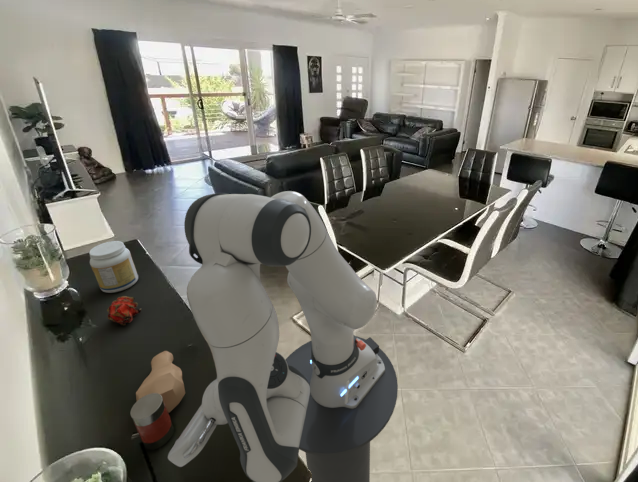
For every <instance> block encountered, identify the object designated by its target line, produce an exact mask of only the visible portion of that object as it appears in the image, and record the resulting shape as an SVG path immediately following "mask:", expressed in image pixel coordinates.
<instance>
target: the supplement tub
mask: <svg viewBox="0 0 638 482" xmlns="http://www.w3.org/2000/svg"><path fill="white" fill-rule="evenodd" d="M89 265H90V268H91V270H92V272H93V275H94V277H95V279H96V281H97V282H96V283H97V284H98V287H99V289H100V290H101V291H102V292H103V293H107V294H113V293H114V294H115V293H119V292H122V291H125V290H128V289H130V288H131V287H133V286H134V285H135V284H136V283H137V282H138V280H139V274H138V271H137V269H136V265H135V262H134V260H133V257H132V254H131V251H130V250H129V248H127V247H126V245H125V244H124V242H123V241H120V240H111V241H106V242H103V243H99V244H98V245H95V246H94V247H92V248H91V249H90V250H89Z"/></svg>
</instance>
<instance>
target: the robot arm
mask: <svg viewBox="0 0 638 482" xmlns="http://www.w3.org/2000/svg"><path fill="white" fill-rule="evenodd" d="M183 224H184V225H183V226H184V227H183V228H184V234H185V238H186V241H187V243H188V254H189V257H190V258H191V259H192V260H194V262H196V263H198V264H200V265H201V266H200V267H199V268H198V269H197V270H196V271H195V272H193V275H192V276H191V277H190V279H189V281H188V284H187V287H186V298H187V302H188V306H189V308H190V311H191V314H192V316H193V319H194V321H195V323H196V326H197V328H198V329H199V331H200V333H201V335H202V337H203V338H204V340H205V341H206V343H207V346H208V347H209V349H210V352H211V355H212V358H213V359H212V360H213V362H214V366H215V372H216V378H215V379H214V380H213V381H211V382H210V383H209V384H208V386H207V387H206V388H205V390H204V391H203V394H202V399H201V404H200V406H199V407H198V409H197V410H196V412H195V413H194V414H193V416H192V418H191V419H190V421H189V422H188V424H187V425H186V426H185V428H184V429H183V431H182V432H181V433H180V434H179V436H178V437H177V439H176V440H175V441H174V445H173V446H172V448H171V449H169V452H168V454H167V460H168V461H169V462H170V463H171V464H174V465H175V466H176V467H178V468H182V467H184V466H186V465H187V464H188V463H190V462H191V461H192V460H194V459H195V458H196V457H197V456H198V455H199V454H200V453H201V452H202V451H203V449H204V447H205V446H206V445H207V443H208V441H209V440H210V438H211V436H212V434H213V433H214V431H215V429H216V428H217V426H219V425H220V426H221V425H227V424H228V426H229V428H230V432H231V433H232V436H233V438H234V440H235V442H236V445H237V448H238V450H239V454H240V455H239V462H240V465H241V468H242V470H243V472H244V474H245V476H246V477H247V478H248V479H249V480H250V481H252V482H283V481H284V480H285V479H286V478H287V477H289V476H290V475H291V473H293V472H294V470H295V469H296V468H297V467H298V460H299V454H300V449H299V444H300V440H301V435H302V430H303V425H304V421H305V416H306V410H307V406H308V401H309V396H310V393H311V395H312V397H313V399H314V400H315V401H316V402H317V403H319V404H320V405H322V406H325V407H329V408H336V407H346V408H351V409H354V408H356V407H357V406H358V405H359V403H360V402H361V401H362V400H363V398H364V397H365V396H366V395H367V393H368V392H369V391H370V390H371V388H372V387H373V386H374V385H375V383H376V382H377V381H378V380H379V378H380V377H381V376H382V375H383V373H384V372H385V367H384V363H383V361H382V360H381V358H380V357H379V356H378V355H377V353H378V352H379V348H380V345H379V344H378V343H377V342H376V341H375V340H374V339H373V338H372V336H371V337H370V336H369V337H367V338H366V340H365V341H362V340H360V339H358V338H356V337H355V336H356V335H354V330H360V329H361V328H363V327H365V326H366V325H368V324H369V323H370V322H371V320H372V319H373V318H374V316H375V314H376V311H377V307H378V306H377V305H378V298H377V295H376V292H375V290H373V289H372V288H371V287H370V286H369V285H368V284H367V283H365V282H364V281H363V280H362V278H361V277H360V276H359V275H358V274H357V272H356V271H355V270H354V269H353V267H352V266H351V265H350V264H349V263H348V261H347V260H346V259H345V258H344V257H343V256H342V255H341V253H340V252H339V250H338V249H337V248H336V246H335V244H334V242H333V240H332V238H331V236H330V234H329V232H328V230H327V228H326V226H325V224H324V222H323V220H322V217H320V215H319V213H318V212H317V210H316V209H315V207H313V205H312V204H311V202H310V201H309V200H308V199H307V198H306V197H305V195H303V194H302V193H300V192H297V191H294V190H293V191H292V190H287V191H285V190H284V191H281V192H277V193H276V194H273V195H272V196H266V195H260V194H253V193H245V194H244V193H231V194H229V193H226V192H216V193H210V194H207V195H203V196H201V197H199V198H197V199H196V200H194V201H193V202H192V203H191V204H190V206H189V207H188V208H187V211H186V213H185V217H184V222H183ZM261 265H264V266H266V267H285V268H286V270H287V271H288V273H287V278H286V279H287V280H286V281H287V286H288V287H289V289H290V290H291V292H293V294H294V296H295V298H296V300H297V301H298V303H299V306H300V308H301V311H302V313H303V315H304V318H305V320H306V323H307V326H308V328H309V331H310V339H311V340H310V341H312V348H311V359H312V360H310V363H312V367H313V373H312V378H311V381H310V385H309V382H308V381H307V379H306V378H305V376H304V375H303V374H302V373H301V372H300V371H299V370H297V369H296V368H294V367H292V366H290V365H288V364H287V362H286V358H285V357H284V356H283V355H282V354H281V353H279V352H277V350H278V345H279V342H280V323H279V318H278V314H277V311H276V309H275V307H274V304H273V302H272V300H271V298H270V296H269V294H268V292H267V290H266V288H265V286H264V285H263V283H262V279H261ZM379 363H381V364H379ZM355 399H357V400H356V401H355Z"/></svg>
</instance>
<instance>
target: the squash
mask: <svg viewBox="0 0 638 482" xmlns="http://www.w3.org/2000/svg"><path fill="white" fill-rule="evenodd" d="M173 361H174V355H173V353H172V352H170V351H168V350H163V351H161V352H159V353H158V354H156V355H155V356H153V357H152V359H151V361H150V367H151V371H150V373H149V375H148V376H146V378H145V379H144V380H143V381H142V383H141V384H140V386H139V388H138V389H137V390H136V392H135V398H136V402H137V401H138V400H139V399H140V398H142V397H144V396H146V395H148V394H151V393H158V394H160V395H161V396H162V398H163V401H164V403H165V406H166V408H167V411H168V413H171V412H172V411H173V410H174V409H175V408H176V407H177V406H178V405H179V404H180V402H181V401H182V400H183V398H184V397H185V396H186V395H185V394H186V390H185V384H184V380H183V371H182V369H181V368H180V367H179V366H177V365H176V364H174V363H173Z"/></svg>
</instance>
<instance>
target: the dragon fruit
mask: <svg viewBox="0 0 638 482" xmlns="http://www.w3.org/2000/svg"><path fill="white" fill-rule="evenodd" d="M138 305H139V302H136V301H135V297H134V296H127V295H122V296H118V297H117V299H114V300H112V302H111V305H109V307H108V308H107V309H106V311H107V319H108V320H111V322H113V323H117V324H119V325H121V326H126V325H127V324H126V323H128V324H129V323H131V322H133V321H134V317H135V316H136V315H139V314H141V312H142V308H139V309H138Z"/></svg>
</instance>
